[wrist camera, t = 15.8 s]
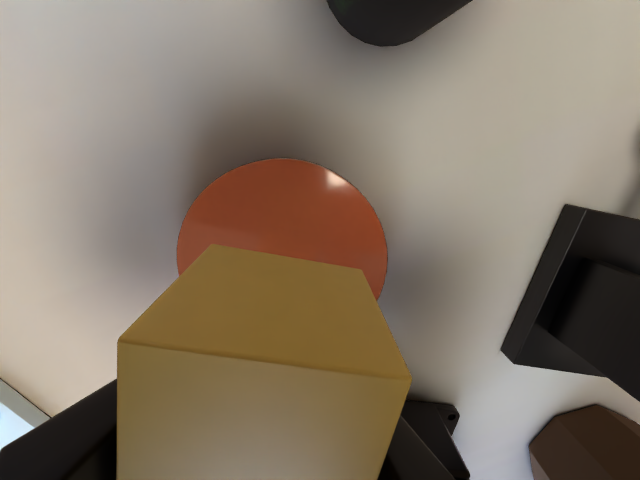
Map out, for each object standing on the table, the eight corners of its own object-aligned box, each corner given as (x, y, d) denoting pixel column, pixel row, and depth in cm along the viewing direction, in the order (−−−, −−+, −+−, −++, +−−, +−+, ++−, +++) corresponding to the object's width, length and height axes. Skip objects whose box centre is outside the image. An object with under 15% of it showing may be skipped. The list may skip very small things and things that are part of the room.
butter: (362, 268, 8) (414, 379, 4) (321, 425, 10) (332, 610, 6) (211, 242, 8) (114, 338, 4) (194, 410, 9) (113, 599, 5)
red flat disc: (356, 352, 17) (360, 366, 16) (179, 327, 16) (170, 341, 15) (404, 180, 14) (413, 183, 13) (194, 137, 13) (183, 136, 12)
